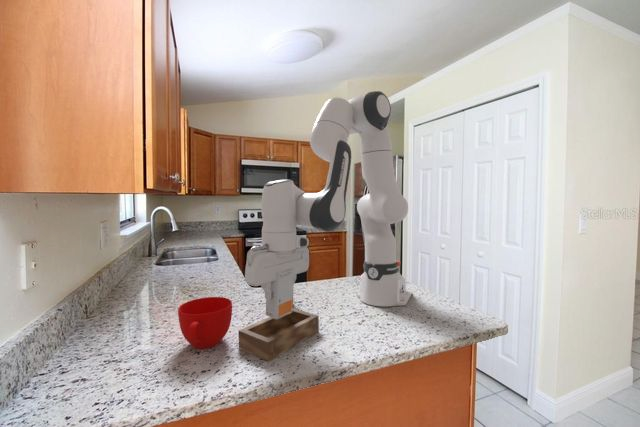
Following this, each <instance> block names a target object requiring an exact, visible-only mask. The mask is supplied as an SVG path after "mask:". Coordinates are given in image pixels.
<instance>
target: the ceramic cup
mask: <svg viewBox="0 0 640 427" xmlns="http://www.w3.org/2000/svg"><path fill="white" fill-rule="evenodd" d="M177 314H178V315H177V316H178V323H179V328H180V330H181V331H180V332H181V333H182V336H183V337H184V339H185V340H186V342H187V343H188V344H190V345H191V346H193V348H195V349H196V350H207V349H211V348H214V347H216V346H218V345H219V344H220V343H221V341H222V340H223V339H224V337H225V336H226V334H227V333H228V332H229V329H230V326H231V322H232V316H233V315H232V314H233V301H232V300H231V299H230V298H228V297H224V296H222V297H221V296H210V297H209V296H208V297H207V296H206V297H201V298H195V299H192V300H189V301H185V302H184V303H182V304H181V305H179V307H178V309H177Z"/></svg>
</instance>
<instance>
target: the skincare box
mask: <svg viewBox="0 0 640 427" xmlns="http://www.w3.org/2000/svg"><path fill="white" fill-rule="evenodd" d="M293 280H294V269H289V270H285V271H282V272H278V273H277V274H276V281H272V282H271V286H269V288H270V290H271V291H273V292H274V298H272V299H270V300H268V299H265V316H267V317H272V318H274V319H276V320H277V319H279V318H281V317H283V316H285V315H287V314H290V313H292V308H293V305H292V304H294V285H293Z"/></svg>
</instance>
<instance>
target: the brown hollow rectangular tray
mask: <svg viewBox="0 0 640 427" xmlns="http://www.w3.org/2000/svg"><path fill="white" fill-rule="evenodd" d="M319 320H320V318H319V315H317V314H314V313H311V312H307V311H303V310H300V309H296V308H293V307H292V313H290V314H287V315H285V316H283V317H281V318H279V319H277V320H276V319H274V318H272V317H269V316H267V318H266V317H265V318H264V319H261V320H259V321H258V322H255V323H253V324H250V325H248V326H245V327H244V328H241V329H240V330H238V331H237V333H238V349H240V350H242V351H243V352H246V353H248V354H250V355H251V356H252V355H253V356H255V357H257V358H259V359H261V360H263V361H266V362H268V363H269V362H270V361H272V360H274V359H276V358H277V357H279V356H280V355H283V354H284V353H286V352H287V351H289V350H291V349H292V348H294V347H296V346H297V345H299V344H300V343H302V342H304V341H306V340H307V339H309V338H310V337H312V336H313V335H315V334H318V333H319V331H320V329H319V328H320V327H319V326H320V325H319V324H320V321H319Z"/></svg>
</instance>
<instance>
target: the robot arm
mask: <svg viewBox="0 0 640 427" xmlns="http://www.w3.org/2000/svg"><path fill="white" fill-rule="evenodd" d="M391 109H392V108H391V103H390V99H389V98H388V96H387V95H386V94H385V93H384V92H382V91H380V90H379V91H378V90H374V91H373V90H372V91H369V92H367V93H365V94H360V95H358V96H355V97H353V98H351V99H349V100H347V99H346V98H342V97H337V96H336V97H332V98H329V99H328V100H327V101H326V102H325V103H324V105H323V107H322V108H321V109H320V112H319V114H317V115H318V116H317V118H316V119H315V122H314V125H313V127H312V130H311V133H310V136H309V145H310V148H311V150H312V151H313V153H314V155H315V156H317V158H318V157H319V159H322V160H323V161H325V162H328V163H329V166H328V172H327V178H326V184H325V187H324V188H323V190H321V191H319V192H306V191H304V190H302V189H300V187H298V186H297V185H296V184H295V183H294V181H293V180H292V179H288V178H286V179H279V180H278V179H277V180H276V179H275V180H271V181H268V182H267V183H265V184H264V186H263V189H262V193H261V194H262V195H261V217H262V222H263V223H262V227H261V245H259V246H258V245H253V246H252V247H251V248H250V249H249V250H248V251H247V254H246V262H245V263H246V264H245V268H244V269H245V270H244V282H245V283H246V284H247V285H249V286H253V287H258V286H260V287H261V289H262V290H263V292H264V298H265V300H266V299H268V300H270V299H272V298H274V292H273V291H271V290H270V288H269V286H271V282H272V281H276V274H277V273H278V272H282V271H285V270H289V269H294V280H293V286H294V285H295V283H296V280H297V275H298V274H301V273H305V272H308V270H309V267H310V250H309V249H308V247H309V244H310V240H309V238H308V237H304V236H302V235H298V234H297V227H299V228H305V229H315V230H320V231H322V232H323V231H324V232H334V231H335V230H337V229H338V228H339V227H340V226H341V225H342V224H343V222H344V220H345V217H346V214H347V213H346V210H347V209H346V208H347V205H346V202H347V201H346V199H347V198H346V197H347V190H348V185H349V179H350V178H349V177H350V170H351V165H352V151H351V147H350V145H349V143H348V140H349V137H350V135H352V134H353V135H354V134H358V135H359V136H360V145H359V147H360V148H359V150H360V164H361V174H362V175H361V176H362V179H363V180H364V181H365V184H366V186H367V189H368V192H369V193H367V194H365V195H363V196H362V197H360V198H359V199H358V201H357V205H356V209H357V210H356V211H357V213H358V215H359V218H360V221H361V227H362V231H363V232H362V233H363V238H364V261H363V273H362V274H361V275H360V284H359V285H360V288H359V292H357V293H356V296H357V297H358V298H359V299H360V301H361V302H363V303H364V304H367V305H370V306H373V307H375V306H376V307H394V306H407V305H408V303H409V300H410V298H411V296H413V293H412V292H413V291H412V290H409V289H407V288H406V287H407V286H406V278H404V276H403V275H402V274H401V273H400V272H399V271H400V270H399V267H401V261H400V260H397V239H396V237H395V236H394V234H393V230H392V227H391V225H392V224H397V223H400V222H402V221H404V219H405V218H406V217H407V215H408V212H409V203H408V201H407V200H406V198H405V197H404V195H403V194H402V193H401V190H400V187H399V185H398V181H397V179H396V175H395V166H394V155H393V154H394V153H393V144H392V138H391V133H390V130H389V125H388V122H389V121H390V120H389V119H390V116H391V111H392V110H391Z"/></svg>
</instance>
